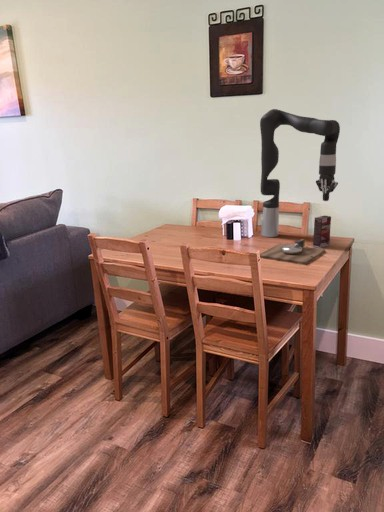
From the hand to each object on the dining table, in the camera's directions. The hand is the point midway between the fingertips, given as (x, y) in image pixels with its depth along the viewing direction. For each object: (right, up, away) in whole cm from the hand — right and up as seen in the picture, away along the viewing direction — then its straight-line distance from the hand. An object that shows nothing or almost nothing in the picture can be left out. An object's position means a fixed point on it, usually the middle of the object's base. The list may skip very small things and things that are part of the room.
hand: (325, 200), depth 206 cm
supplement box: (+5, -22, +22) cm, 31 cm away
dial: (-12, -24, +11) cm, 29 cm away
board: (-14, -26, +9) cm, 31 cm away
